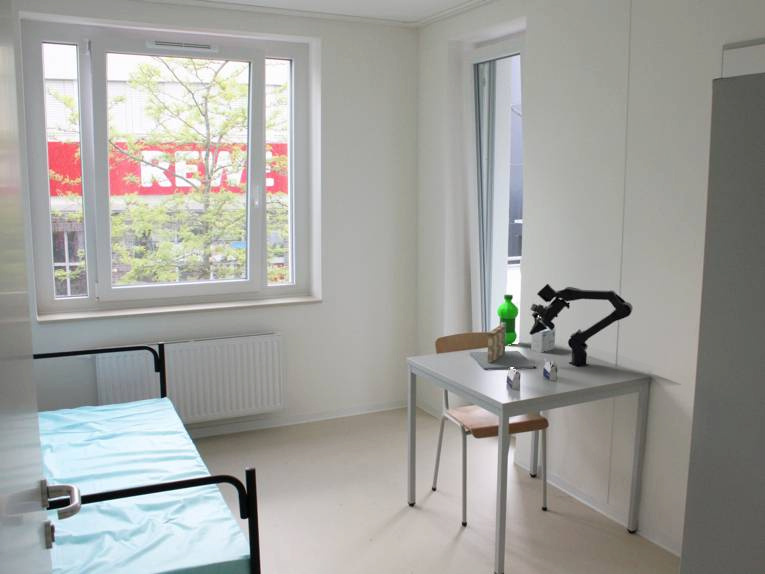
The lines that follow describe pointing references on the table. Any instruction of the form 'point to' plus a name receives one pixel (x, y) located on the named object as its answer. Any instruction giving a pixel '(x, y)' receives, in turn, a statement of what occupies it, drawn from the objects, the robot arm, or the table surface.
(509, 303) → the plastic bottle
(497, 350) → the gate panel
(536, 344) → the light bulb box
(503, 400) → the table surface
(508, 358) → the base
